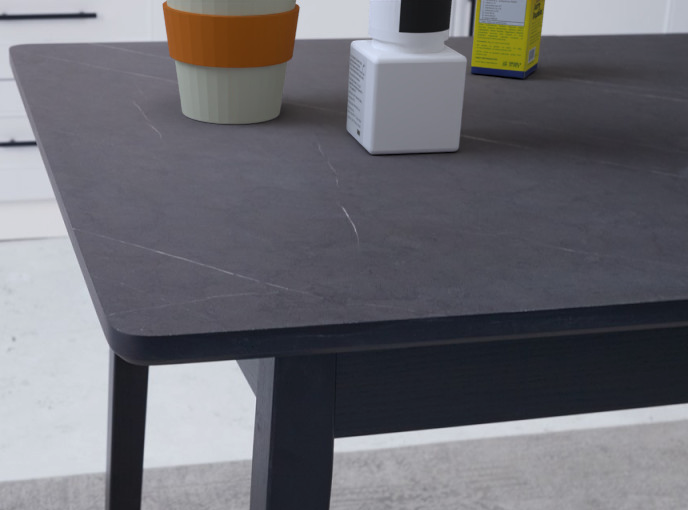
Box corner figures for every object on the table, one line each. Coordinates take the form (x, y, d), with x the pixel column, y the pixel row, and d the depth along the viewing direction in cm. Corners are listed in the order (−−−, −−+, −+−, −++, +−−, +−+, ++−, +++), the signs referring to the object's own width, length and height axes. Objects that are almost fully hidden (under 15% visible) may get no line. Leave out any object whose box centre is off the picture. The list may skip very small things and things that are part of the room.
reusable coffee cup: (235, 89, 113) (236, -75, 106) (328, 114, 105) (335, -62, 98) (133, 109, 105) (127, -68, 98) (225, 137, 97) (225, -52, 90)
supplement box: (537, 69, 125) (550, -38, 120) (524, 80, 120) (537, -31, 115) (484, 64, 127) (494, -42, 122) (469, 74, 122) (479, -36, 117)
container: (429, 128, 102) (442, -28, 96) (459, 152, 95) (475, -14, 89) (345, 131, 100) (352, -27, 94) (369, 155, 93) (379, -13, 87)
